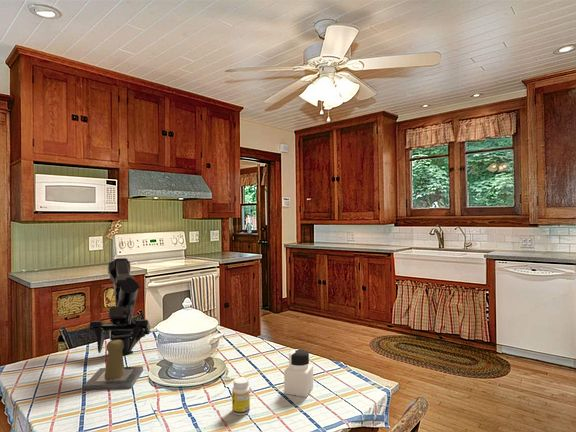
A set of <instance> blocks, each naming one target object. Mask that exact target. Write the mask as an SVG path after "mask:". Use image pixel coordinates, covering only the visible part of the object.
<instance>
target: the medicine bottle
mask: <svg viewBox="0 0 576 432" xmlns="http://www.w3.org/2000/svg"><path fill="white" fill-rule="evenodd" d="M283 371H284V373H283V376H284V377H283V379H284V381H283V382H284V383H283V384H284V387H283V388H284V390H283V393H284V394H285V395H291V396H295V395H296V397H301V396H302V397H304V398H307V397H308V396H309V394H310V393H311V391H312V390H313V388H314V365H313V364H310V353H309V351H307V350H305V349H301V348H300V349H299V348H297V349H293V350H291V351H289V353H288V366H287V367H286V368H285V369H284V370H283ZM302 397H301V398H302Z"/></svg>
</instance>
